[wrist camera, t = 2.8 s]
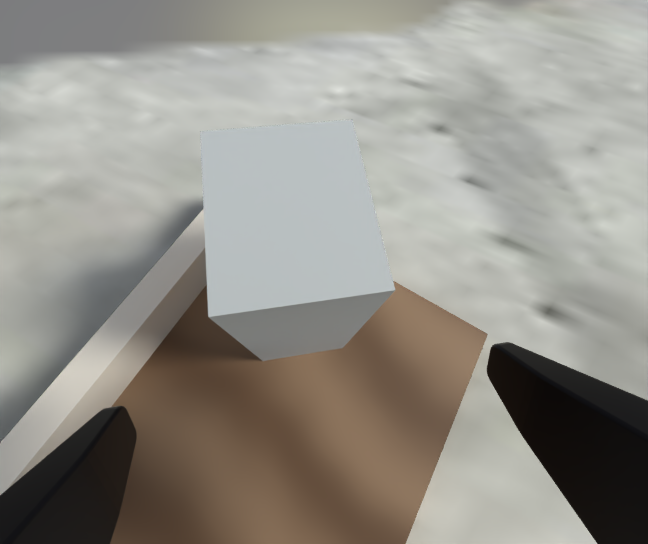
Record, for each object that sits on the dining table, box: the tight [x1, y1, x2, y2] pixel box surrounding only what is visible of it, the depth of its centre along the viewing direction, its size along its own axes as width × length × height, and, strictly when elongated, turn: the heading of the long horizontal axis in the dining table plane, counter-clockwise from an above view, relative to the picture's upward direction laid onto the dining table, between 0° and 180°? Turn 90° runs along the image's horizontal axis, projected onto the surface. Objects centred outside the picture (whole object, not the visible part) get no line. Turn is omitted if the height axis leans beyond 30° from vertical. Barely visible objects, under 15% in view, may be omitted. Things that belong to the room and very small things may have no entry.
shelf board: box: [110, 281, 488, 544], centre depth 17 cm, size 22×18×1 cm
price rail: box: [0, 209, 207, 495], centre depth 16 cm, size 22×2×3 cm, turn 149°
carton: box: [200, 119, 395, 361], centre depth 14 cm, size 6×5×11 cm
